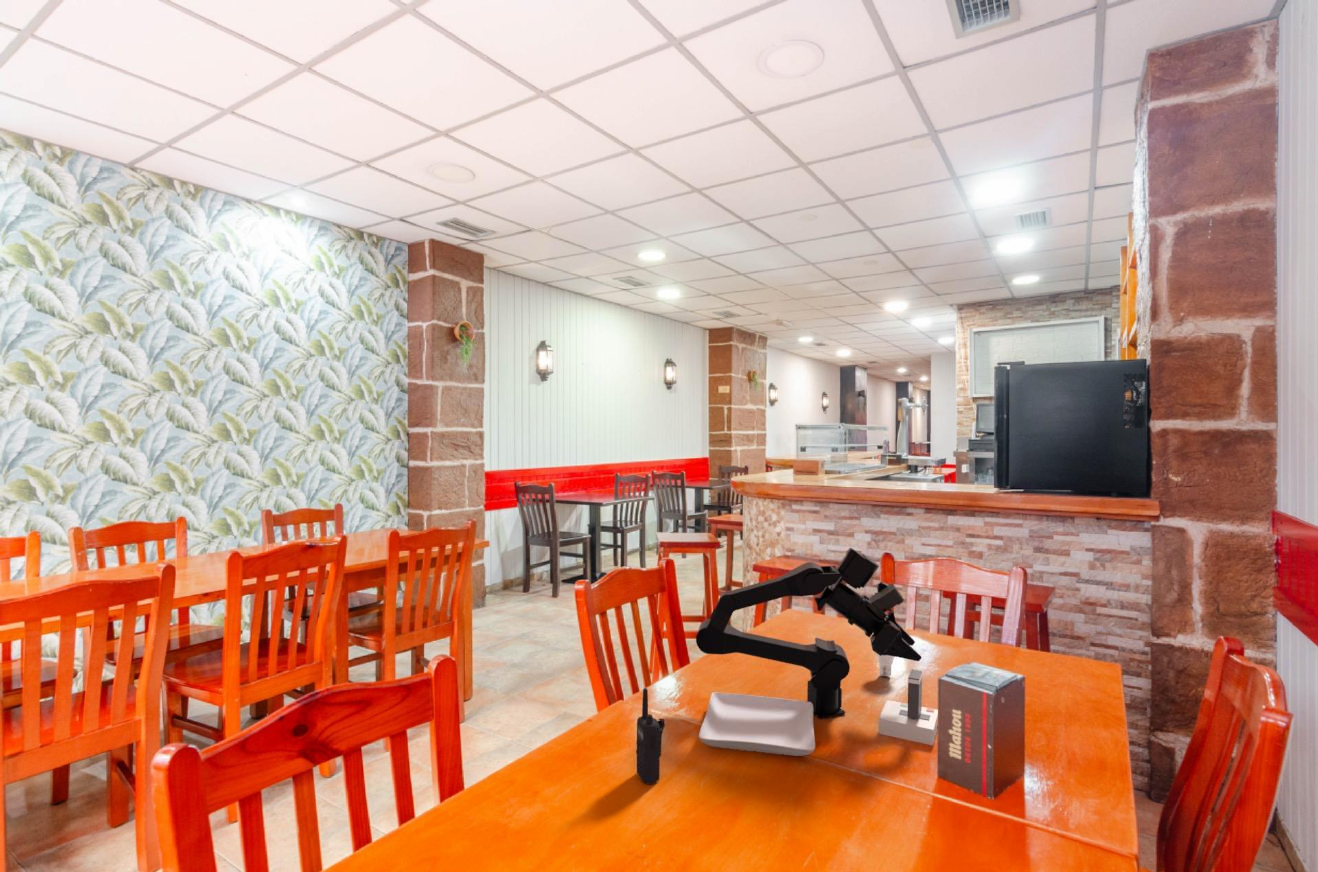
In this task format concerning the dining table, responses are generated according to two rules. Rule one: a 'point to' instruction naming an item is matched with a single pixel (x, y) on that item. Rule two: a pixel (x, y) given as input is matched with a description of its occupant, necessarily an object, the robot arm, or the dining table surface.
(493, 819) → the dining table surface
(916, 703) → the breaker toggle
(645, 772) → the two-way radio
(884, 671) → the lightbulb
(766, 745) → the salad plate
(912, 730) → the block
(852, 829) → the dining table surface
